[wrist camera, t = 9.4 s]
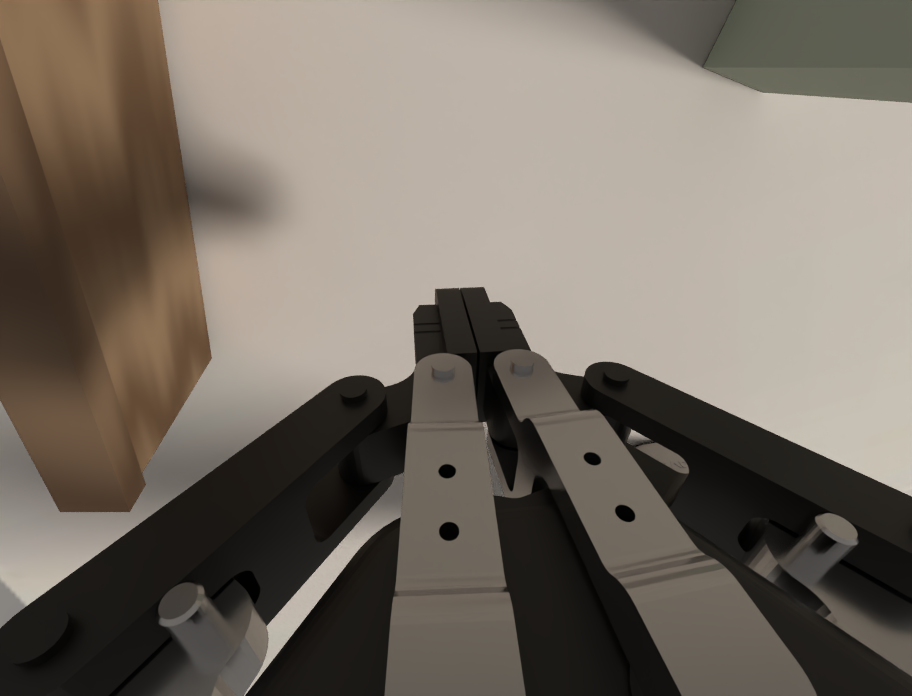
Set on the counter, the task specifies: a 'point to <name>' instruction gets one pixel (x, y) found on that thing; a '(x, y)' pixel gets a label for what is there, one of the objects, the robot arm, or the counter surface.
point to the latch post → (818, 48)
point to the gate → (93, 246)
